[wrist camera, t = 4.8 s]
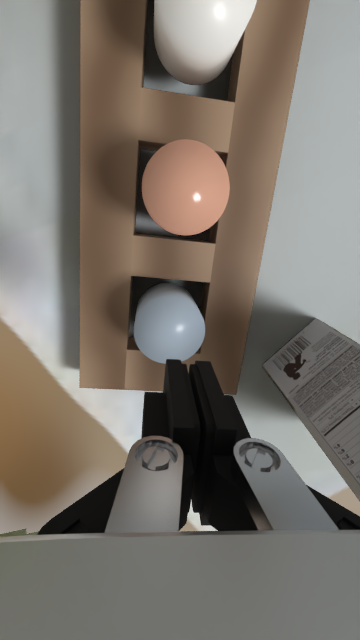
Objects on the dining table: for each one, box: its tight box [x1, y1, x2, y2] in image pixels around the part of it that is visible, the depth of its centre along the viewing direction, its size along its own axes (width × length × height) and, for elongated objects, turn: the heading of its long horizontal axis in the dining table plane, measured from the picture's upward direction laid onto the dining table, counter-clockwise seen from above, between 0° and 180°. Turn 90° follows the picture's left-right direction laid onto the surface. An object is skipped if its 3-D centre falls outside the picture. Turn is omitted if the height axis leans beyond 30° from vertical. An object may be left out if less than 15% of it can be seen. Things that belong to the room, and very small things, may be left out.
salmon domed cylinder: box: [142, 139, 230, 235], centre depth 17 cm, size 4×4×4 cm
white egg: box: [154, 0, 257, 85], centre depth 15 cm, size 4×4×4 cm
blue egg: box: [134, 283, 205, 364], centre depth 21 cm, size 4×4×4 cm
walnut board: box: [80, 0, 310, 395], centre depth 20 cm, size 12×28×2 cm, turn 174°
